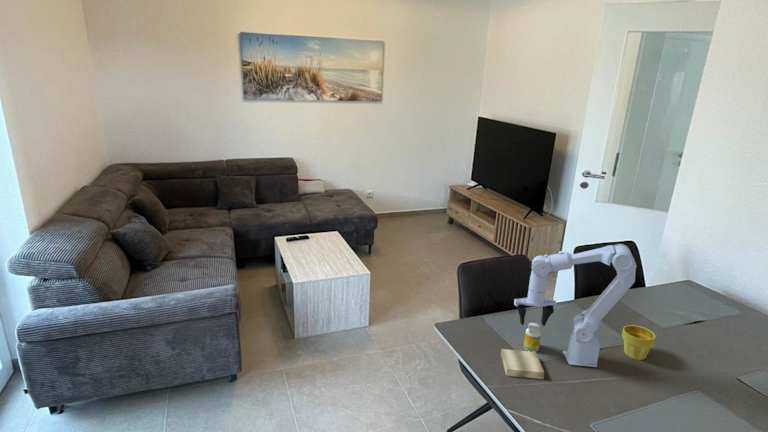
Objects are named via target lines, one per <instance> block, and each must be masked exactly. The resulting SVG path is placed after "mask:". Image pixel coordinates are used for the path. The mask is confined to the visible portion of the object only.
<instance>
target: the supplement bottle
mask: <svg viewBox="0 0 768 432" xmlns="http://www.w3.org/2000/svg"><path fill="white" fill-rule="evenodd" d="M540 328H541V326H540V324H538V323H535V322H529V323H528V327H527V328H526V330H525V335H524V341H523V348H524V349H525V351H527V350H528V351H532V352H536V351H537V352H538V351H539V349H540V344H541V343H540V342H541V336H542V332H541V329H540ZM537 352H536V353H537Z"/></svg>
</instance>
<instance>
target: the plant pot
mask: <svg viewBox="0 0 768 432" xmlns="http://www.w3.org/2000/svg"><path fill="white" fill-rule="evenodd" d="M621 337H622V339H623V350H624V354H625V355H626V356H627V357H629V358H631V359H634V360H639V361H644V360H645V359H646V358H647V356H648V354H649V352H650V350H651V348H653V347H654V346H655V343H656V339H657V338H656V333H654V331H652V330H650V329H649V328H647V327H643V326H640V325H636V324H635V325H634V324H630V325H625V326H623V328H622V333H621Z"/></svg>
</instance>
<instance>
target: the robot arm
mask: <svg viewBox="0 0 768 432" xmlns="http://www.w3.org/2000/svg"><path fill="white" fill-rule="evenodd" d="M595 262H600V263H603V264H605V265H607V266H609V267H610V266H611V263H612V266H613V268H614V269H615V271H616V276H615V277H614V278H613V279H612V281H611V282H610V283H609V284H608V285H607V287H605V289H604V290H603V291H602V292H601V294H600V295H599V296H598V297H597V298H596V299H595V301H594V302H593V303H591V305H590V306H589V308H587V309H585V310H583V311H582V312H581V313H580V314H577V315H575V316H574V318H573V320H572V324H573V329H572V331H571V332H570V336H569V340H568V347H567V350H563V352H562V353H563V355H564V357H565V359H566V361H567V362H568V364H569V365H570V366H578V367H579V366H580V367H582V366H583V367H593V368H597V367H598V359H599V355H600V348H601V347H600V346H601V345H600V342H599V339H598V338H597V337H595V332H596V331H597V330H598V328H599V326H600V323H601V321H602V320H603V319H604V317H605V316H607V314H608V313H609V312H610V311H611V310H612V309H613V308H614V306H615V305H616V304H617V303H618V302H619V300H620V299H622V297H623V296H624V295H625V294H626V293H627V291H629V289H630V288H631V287H632V286H634V285H633V284H635V282H636V271H637V263H636V260H635V257H634V256H633V254H632V252H631V250H630V248H629V246H628V245H626V244H623V243H618V244H617V243H616V244H613V245H612V244H611V245H610V244H609V245H606V246H603V247H599V248H598V247H597V248H595V249H591V250H587V251H586V250H585V251H582V252H581V251H580V252H578V253H573V254H572V253H570V252H567V251H566V252H564V251H561V250H560V251H558V253H554V254H549V255H548V254H544V255H537V256H535V257H534V258H533V259H532V261H531V267H530V268H531V272H530V276H529V284H528V291H527V297H522V298H514V299H513V301H514V302H513V305H514V306H515V307H516V308H517V311H518V316H519V323H520V324H521V325H522V326H524V325H525V318H526V317H525V316H526V313H527V309H526V306H527V307H528V306H529V307H536V308H537V307H539V308H541V307H542V311H541V312H542V314H541V318H540V319H541V320H540V321H541V322H540V323H541V325H542V326H543V327H545V326H546V324H547V322H548V320H549V318H550V316H551V315H552V314H554V311H555V309H556V308H557V306H558V302H557V301H556V300H555V299H547V298H546V292H547V291H546V290H547V284H548V278H547V277H548V274H549V273H554V272H559V271H565V270H571V269H572V267H573V266H574V265H580V264H581V265H582V264H587V263H595ZM554 308H555V309H554Z"/></svg>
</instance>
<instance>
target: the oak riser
mask: <svg viewBox="0 0 768 432" xmlns="http://www.w3.org/2000/svg"><path fill="white" fill-rule="evenodd" d="M500 357H501V361H502V365H503V369H504V373H505V376H506V377H514V378H515V377H516V378H527V379H539V380H544V377H545V370H544V368H543V365H542V364H541V361H540V358H539V357H538V354H537V352H530V351H527V350H519V349H517V350H516V349H508V348H507V349H506V348H501V350H500Z"/></svg>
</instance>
